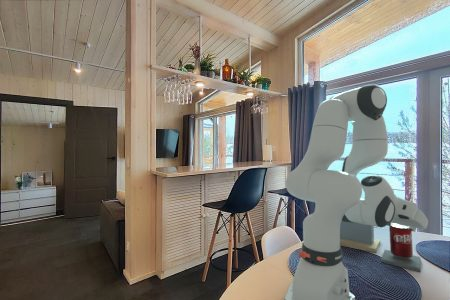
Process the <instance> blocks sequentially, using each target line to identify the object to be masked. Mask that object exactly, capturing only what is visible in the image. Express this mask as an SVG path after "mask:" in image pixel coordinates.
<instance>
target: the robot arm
mask: <svg viewBox="0 0 450 300" xmlns="http://www.w3.org/2000/svg"><path fill="white" fill-rule="evenodd" d="M387 105H388V97H387V93H386V91H385V90H384V89H383V88H382V87H381V86H380V85H378V84H367V85H366V84H365V85H363V86H361V87H357V88H354V89H350V90H346V91H343V92H341V93H339V94H337V95H335V96H332V97H330V98H329V99H326V100H324V101H322V102H321V103H320V104H319V106H318V108H317V110H316V113H315V116H314V118H313V123H312V127H311V128H312V129H311V133H310V136H309V137H310V138H309V141H308V146H307V150H306V153H305V154H304V156H303V158H302V159H301V161H300V162H299V164H298V165H297V166H296V167H295V168H294V169H293V170H291V171H290V172H289V173H288V175H287V176H286V179H285V188H286V190H287V192H288V193H289V194H290V196H293V197H295V198H297V199H298V200H299V199H300V200H302V201H308V202H312V203H315V207H314V212H313V213H310V214H309V215H306V217H305V218H304V219H303V221H302V237H303V238H302V239H303V241H302V246H301V250H299V251H298V257H299V258H300V259H299V262H298V264H297V266H296V270H295V273H294V275H293V279H292V281H291V284H290V285H289V287H288V289H287V292H286V293H285V296H284V300H356V296H355V295H354V294H353V293H352V292H351V291H350V285H349V284H350V283H349V273H348V269H347V267H346V266H345V265H344V264H343V251H342V246H341V245H340V225H341V220H342V221H344V222H351V223H359V224H364V225H370V226H374V227H376V228H385V227H386V226H387V227H389V225H390V224H392V223H395V224H400V225H404V226H409V227H410V228H409V229H410V231H412V232H414V233H415V232H416V231H417V229H419V230H424V231H425V230H426V229H427V228H428V225H429V219H428V218H427V216H426V215H425V213H424V212H423V211H422V210H421V209H420V208H418V207H419V206H418V203H415V202H413V201H409V200H406V199H404V198H400V197H399V196H397V195H396V194H395V191H394V189H393V188H392V186H391V185H390V182H388V181H387V179H385V177H384V176H382V175H379V174H369V175H367V176H365V177H363V178H362V179H361V181H360V180H359V178H358V177H357V175H358V174H359V173H360V172H361V171H363V170H364V169H367V168H370V167H372V166H375V165H377V164H378V163H380V162H382V161H383V160H384V159H385V158H386V156H387V154H388V149H389V146H388V145H389V144H388V142H389V141H388V132H387V126H386V121H385V119H384V116H383V114H384V112H385V110H386V107H387ZM349 122H351V124H352V134H351V135H352V140H351V141H352V144H351V149H350V152H349V154H348V155H347V156H345V158H344V159H343V163H342V168H341V170H335V169H334V170H333V169H329V167H330V166H331V164H333V163H334V162H335V161H337V160H339V159H340V158H342V157H343V155H344V153H345V148H346V142H347V141H346V140H347V135H348V127H349ZM363 192H364V197H362V195H363Z"/></svg>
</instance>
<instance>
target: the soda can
mask: <svg viewBox="0 0 450 300" xmlns="http://www.w3.org/2000/svg"><path fill="white" fill-rule="evenodd" d="M388 228H389V245H390V246H389V249H390V252H391V253H392V254H393V255H394V256H396V257H400V258H405V259H409V258H412V257H413V256H414V252H413V251H414V250H413V233H412V232H413V231H410V229H409V228H410V227H409V226H404V225H400V224H395V223H391V224H390V225H389V226H388Z"/></svg>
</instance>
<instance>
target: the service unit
mask: <svg viewBox="0 0 450 300" xmlns="http://www.w3.org/2000/svg"><path fill="white" fill-rule="evenodd" d="M374 227H375V226H370V225H364V224H359V223H351V222H344V221H342V220H341V225H340V246H344V247H348V248H353V249H358V250H362V251H367V252H371V253H377V252H378V249H379V247H380V244H381V239H378V238H375V232H374V231H375V229H374Z"/></svg>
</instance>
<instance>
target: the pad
mask: <svg viewBox="0 0 450 300" xmlns="http://www.w3.org/2000/svg"><path fill="white" fill-rule="evenodd" d="M380 262H381V263H383V262H384V263H383V264H388V265H392V266H395V267H400V268H402V269H403V268H404V269H408V270H413V271H417V272H421V256H418V255H413V257H412V258H409V259H405V258H400V257H396V256H394V255H393V254H392V253H391V252H390V250H388V249H384V250H383V253H382V255H381V258H380Z"/></svg>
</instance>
